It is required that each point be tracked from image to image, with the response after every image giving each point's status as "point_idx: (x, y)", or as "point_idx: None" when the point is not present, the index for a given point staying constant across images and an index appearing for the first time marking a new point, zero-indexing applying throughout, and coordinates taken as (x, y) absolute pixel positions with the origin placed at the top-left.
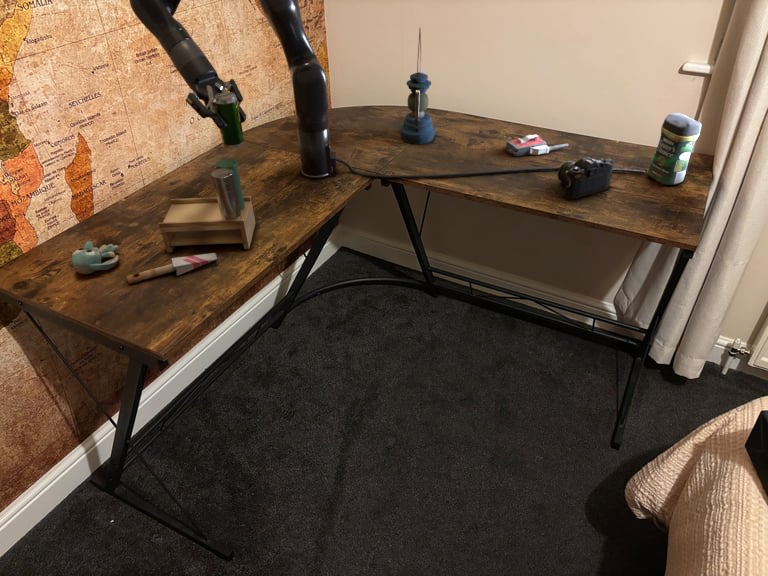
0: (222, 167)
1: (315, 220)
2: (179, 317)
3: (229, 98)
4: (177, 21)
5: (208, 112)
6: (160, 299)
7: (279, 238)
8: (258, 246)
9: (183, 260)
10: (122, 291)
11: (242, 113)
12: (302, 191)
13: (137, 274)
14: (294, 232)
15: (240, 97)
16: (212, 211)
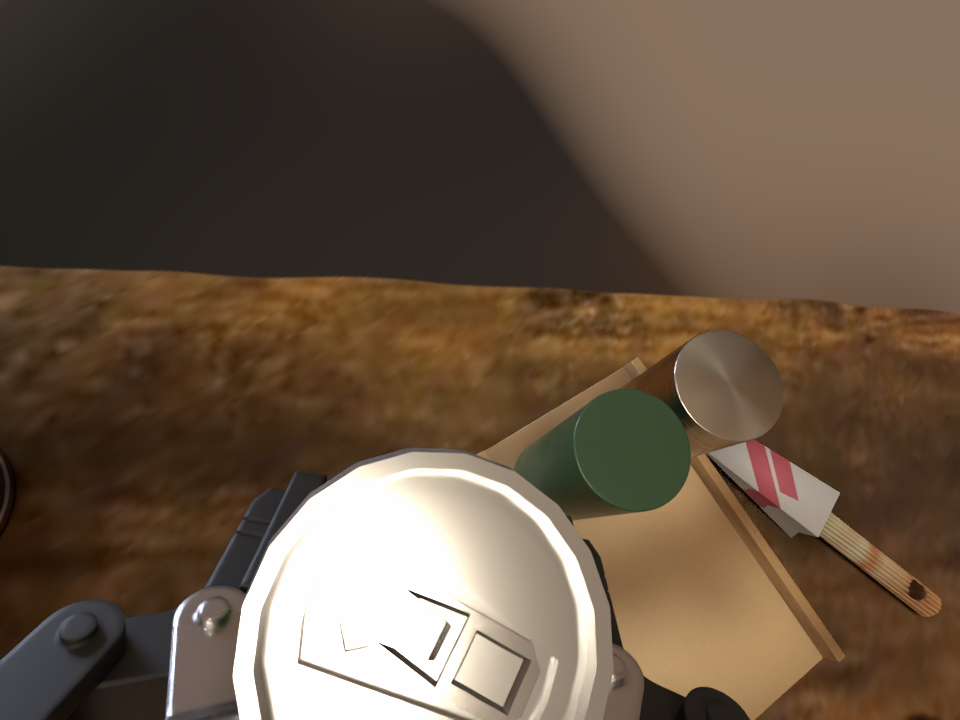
0: (683, 428)
1: (348, 293)
2: (899, 359)
3: (497, 468)
4: None
5: (698, 690)
6: (895, 456)
7: (498, 339)
8: (568, 373)
9: (797, 494)
10: (949, 589)
11: (292, 505)
12: (153, 457)
13: (905, 595)
14: (445, 316)
15: (79, 632)
16: (626, 545)
